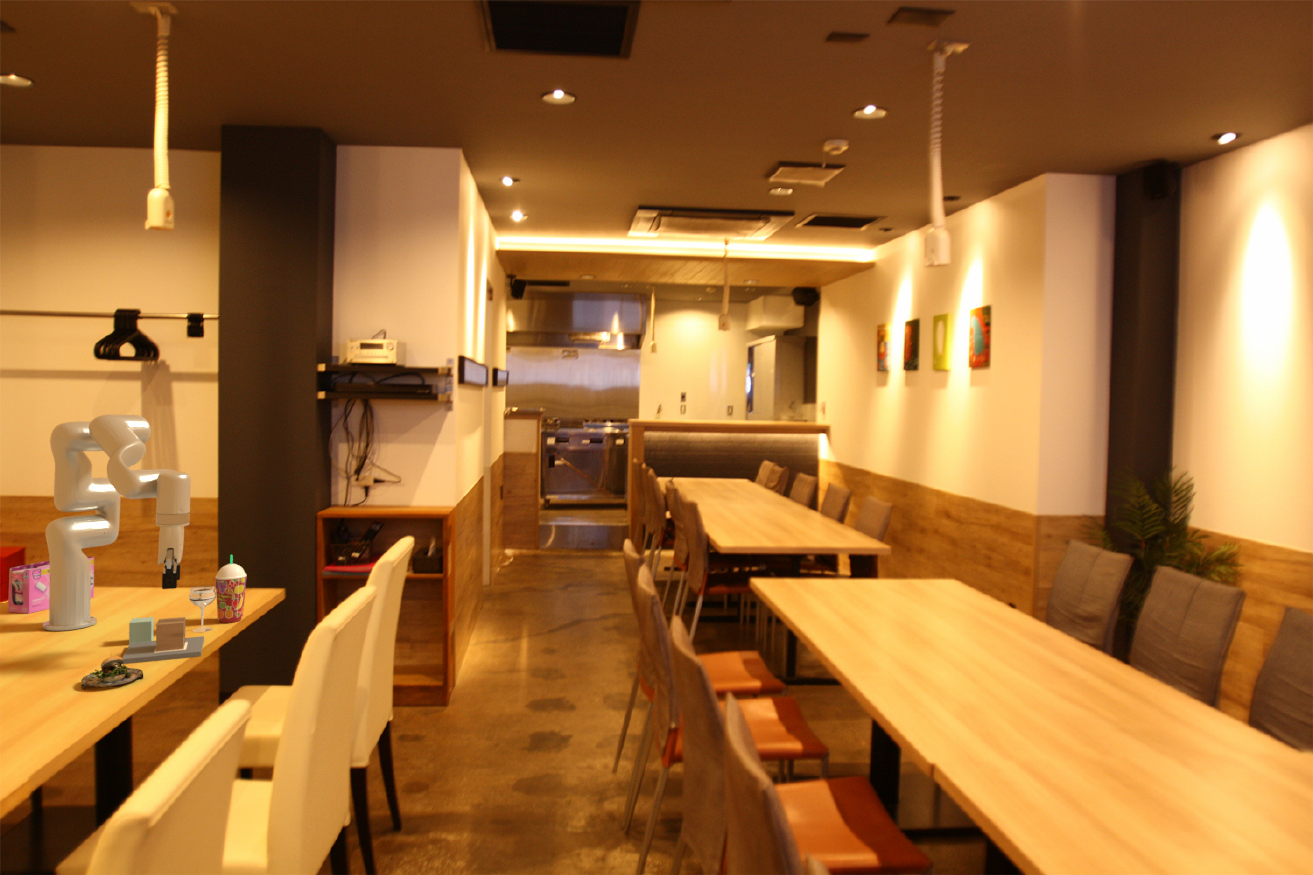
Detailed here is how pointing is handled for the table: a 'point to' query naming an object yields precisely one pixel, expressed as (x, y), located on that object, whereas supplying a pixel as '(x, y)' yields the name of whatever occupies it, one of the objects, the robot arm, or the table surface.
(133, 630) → the teal block
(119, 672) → the burger
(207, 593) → the wineglass
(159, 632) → the walnut block
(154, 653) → the slate board
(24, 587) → the gum box
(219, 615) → the smoothie
